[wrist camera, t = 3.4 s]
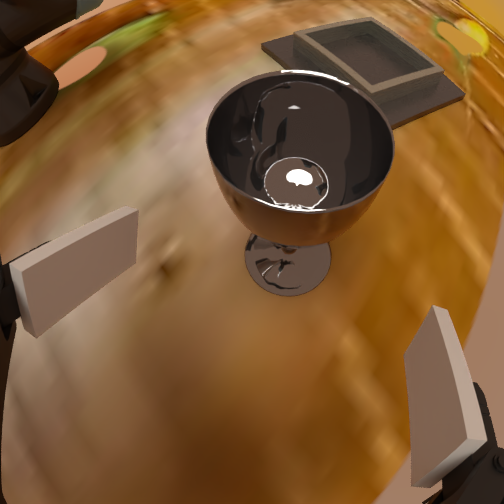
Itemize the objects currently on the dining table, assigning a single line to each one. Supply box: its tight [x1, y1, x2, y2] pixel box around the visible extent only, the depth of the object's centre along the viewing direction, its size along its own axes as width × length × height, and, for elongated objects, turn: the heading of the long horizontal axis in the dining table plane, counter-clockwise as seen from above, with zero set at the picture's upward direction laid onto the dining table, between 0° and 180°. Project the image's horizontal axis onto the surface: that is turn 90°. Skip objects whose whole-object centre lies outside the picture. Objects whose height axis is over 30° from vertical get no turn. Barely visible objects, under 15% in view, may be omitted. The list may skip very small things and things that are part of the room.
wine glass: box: [206, 70, 395, 296], centre depth 19 cm, size 8×8×15 cm
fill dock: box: [261, 17, 465, 130], centre depth 33 cm, size 20×20×4 cm
